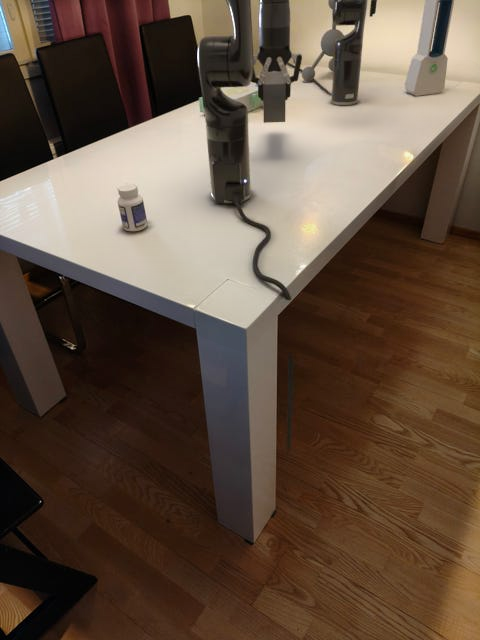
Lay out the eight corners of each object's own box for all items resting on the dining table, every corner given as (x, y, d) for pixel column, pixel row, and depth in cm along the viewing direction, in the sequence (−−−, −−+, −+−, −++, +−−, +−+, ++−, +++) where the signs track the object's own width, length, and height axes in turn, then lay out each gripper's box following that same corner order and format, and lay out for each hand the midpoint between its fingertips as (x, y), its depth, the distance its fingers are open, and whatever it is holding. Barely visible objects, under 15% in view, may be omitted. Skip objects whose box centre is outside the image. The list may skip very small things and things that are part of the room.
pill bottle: (149, 220, 107) (142, 181, 102) (146, 231, 103) (138, 191, 98) (125, 221, 107) (116, 182, 102) (121, 232, 103) (112, 193, 98)
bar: (285, 122, 127) (285, 83, 121) (263, 122, 127) (263, 84, 122) (284, 100, 145) (284, 66, 140) (265, 100, 145) (265, 67, 140)
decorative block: (232, 78, 185) (277, 83, 175) (233, 96, 189) (277, 102, 179) (189, 94, 169) (235, 100, 159) (191, 113, 173) (236, 121, 163)
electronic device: (413, 96, 177) (429, -3, 159) (402, 91, 183) (416, -4, 164) (444, 92, 179) (462, -6, 161) (432, 88, 185) (449, -7, 167)
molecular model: (291, 76, 212) (292, -6, 194) (337, 70, 217) (342, -11, 198) (313, 87, 194) (316, -2, 176) (362, 81, 199) (371, -7, 180)
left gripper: (243, 27, 114) (246, 104, 124) (305, 24, 113) (302, 102, 123) (245, 23, 120) (247, 97, 130) (303, 21, 119) (301, 95, 129)
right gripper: (388, -59, 127) (380, 14, 137) (333, -56, 129) (329, 16, 139) (391, -59, 121) (382, 18, 131) (333, -55, 123) (329, 19, 133)
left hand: (274, 99), depth 127 cm, fingers closed on bar, 5 cm apart
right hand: (355, 17), depth 135 cm, fingers open, 8 cm apart
